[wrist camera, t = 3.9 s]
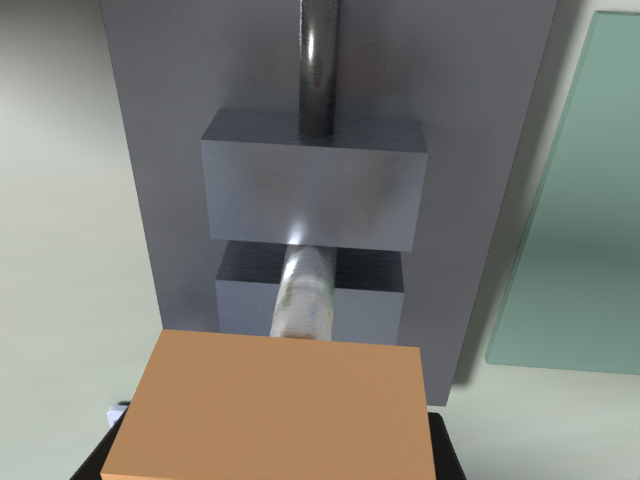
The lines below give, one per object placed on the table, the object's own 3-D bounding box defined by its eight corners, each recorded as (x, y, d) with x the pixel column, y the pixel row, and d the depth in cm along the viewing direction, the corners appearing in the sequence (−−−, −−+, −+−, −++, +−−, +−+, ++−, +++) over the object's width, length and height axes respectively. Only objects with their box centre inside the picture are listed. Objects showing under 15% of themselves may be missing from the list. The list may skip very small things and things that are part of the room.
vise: (441, 384, 24) (468, 546, 18) (181, 365, 24) (126, 517, 18) (561, -76, 13) (712, -37, 8) (101, -97, 14) (-83, -76, 8)
